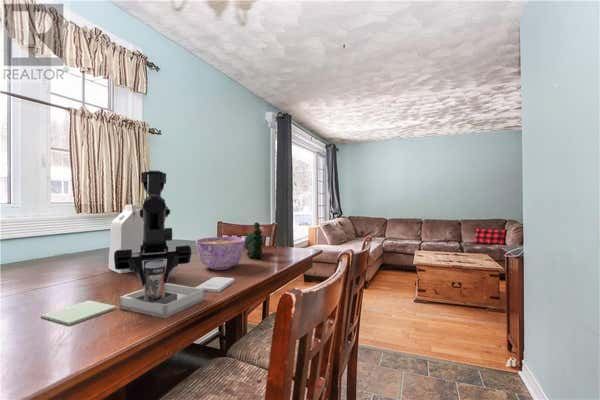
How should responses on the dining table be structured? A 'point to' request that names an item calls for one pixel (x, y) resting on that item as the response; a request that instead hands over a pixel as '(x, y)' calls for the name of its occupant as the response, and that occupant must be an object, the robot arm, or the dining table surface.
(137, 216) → the milk
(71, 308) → the sage mat
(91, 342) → the dining table surface
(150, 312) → the shallow light grey tray
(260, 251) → the toy figurine
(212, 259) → the bowl of food
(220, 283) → the external hard drive
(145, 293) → the beer can
